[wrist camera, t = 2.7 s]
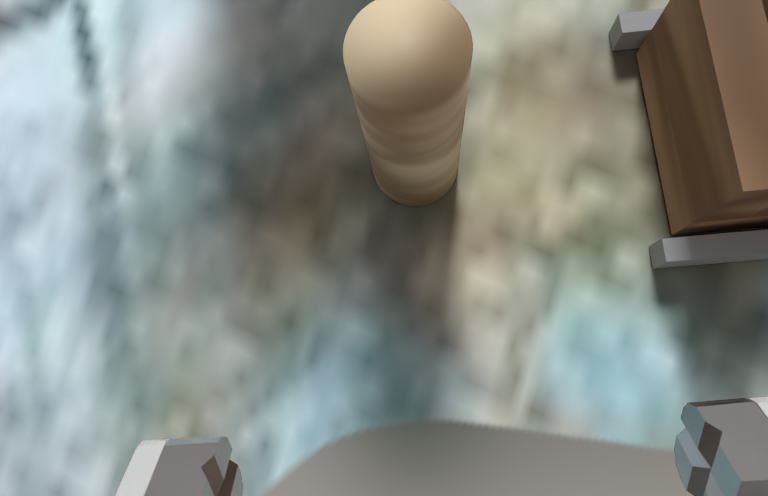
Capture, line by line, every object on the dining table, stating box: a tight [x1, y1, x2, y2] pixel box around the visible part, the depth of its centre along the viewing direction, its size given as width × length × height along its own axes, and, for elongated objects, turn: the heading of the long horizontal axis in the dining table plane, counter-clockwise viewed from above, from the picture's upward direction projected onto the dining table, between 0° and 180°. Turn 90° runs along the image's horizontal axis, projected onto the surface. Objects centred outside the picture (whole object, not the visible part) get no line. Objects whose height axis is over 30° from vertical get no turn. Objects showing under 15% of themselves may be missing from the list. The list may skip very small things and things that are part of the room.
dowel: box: [343, 0, 473, 207], centre depth 23 cm, size 4×4×10 cm
